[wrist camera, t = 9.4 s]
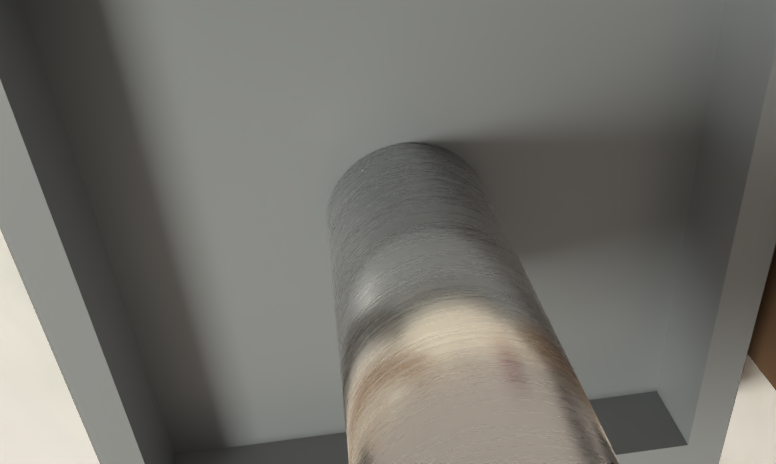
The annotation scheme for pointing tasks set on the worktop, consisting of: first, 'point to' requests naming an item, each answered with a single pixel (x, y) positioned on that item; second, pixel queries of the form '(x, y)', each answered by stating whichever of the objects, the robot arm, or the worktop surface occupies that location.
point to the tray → (337, 154)
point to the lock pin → (445, 325)
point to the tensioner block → (766, 328)
